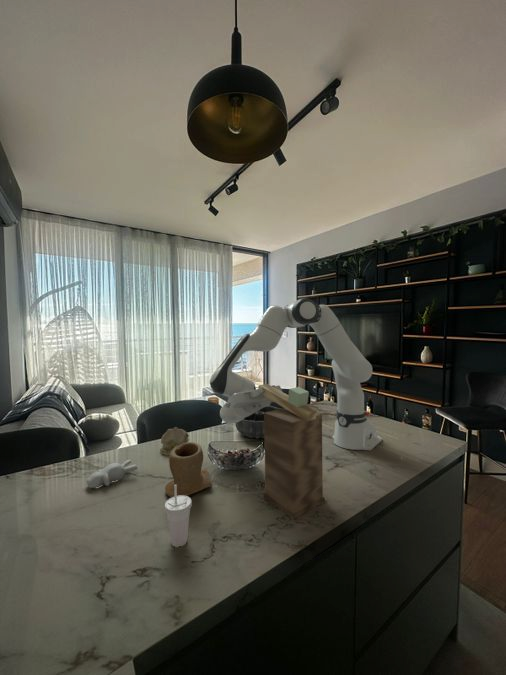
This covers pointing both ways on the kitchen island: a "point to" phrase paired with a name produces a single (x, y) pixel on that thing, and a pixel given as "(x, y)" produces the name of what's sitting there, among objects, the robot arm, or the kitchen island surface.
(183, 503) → the smoothie
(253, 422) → the bundt pan
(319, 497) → the walnut block
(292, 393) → the sage cube
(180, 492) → the stone cup
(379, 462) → the kitchen island surface
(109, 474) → the bunny figurine
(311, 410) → the oak slat
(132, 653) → the kitchen island surface
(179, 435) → the ceramic model
